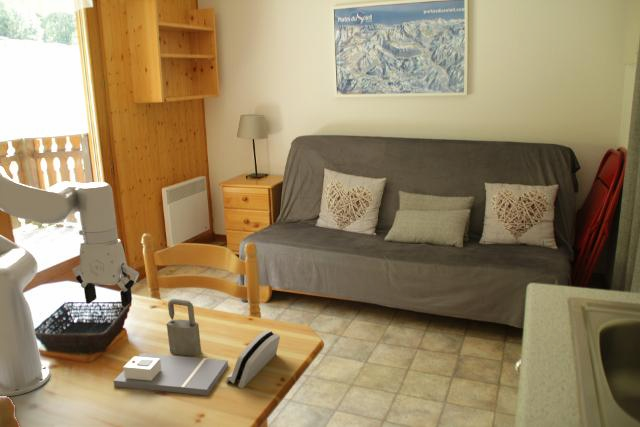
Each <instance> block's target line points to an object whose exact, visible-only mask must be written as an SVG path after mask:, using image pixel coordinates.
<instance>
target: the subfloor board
mask: <svg viewBox="0 0 640 427" xmlns="http://www.w3.org/2000/svg"><path fill="white" fill-rule="evenodd" d="M137 357H148V358H160V361H161V371H160V372H159V373H158V374H157V375H156V376H155V377H154V378H153V379H152V381H150V380H140V379H129V378H125V375H124V370H123V371H122V372H120V373H119V375H118V376H116V377H115V379H113V386H114V387H120V388H122V387H123V388H130V389H139V390H148V391H149V390H150V391H151V390H152V391H161V392H168V393H169V392H170V393H179V394H181V393H182V394H192V395H201V396H208V395H209V393H211V391H212V389H213V388H214V386H215V385H216V384H217V382H218V381H219V379H220V378H221V376H222V375H223V374H224V372H225V370H226V369H227V367H228V366H229V363H228V362H229V361H228V360H227V359H217V358H207V357H193V356H183V355H168V354H167V355H166V354H156V353H155V354H154V353H146V352H145V353H144V352H141V353H140V354H139V355H138V356H137Z"/></svg>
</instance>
